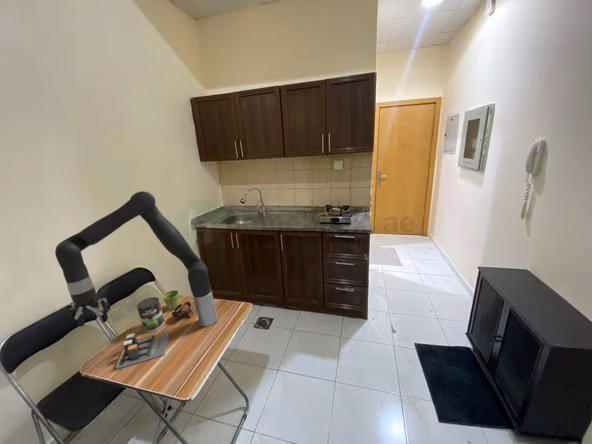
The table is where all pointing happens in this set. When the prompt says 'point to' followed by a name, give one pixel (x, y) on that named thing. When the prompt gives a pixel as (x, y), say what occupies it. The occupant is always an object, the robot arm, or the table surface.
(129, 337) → the block
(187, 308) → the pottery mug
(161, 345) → the breaker panel
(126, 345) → the block
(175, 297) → the plant pot
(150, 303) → the coffee can
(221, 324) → the table surface
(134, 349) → the breaker
